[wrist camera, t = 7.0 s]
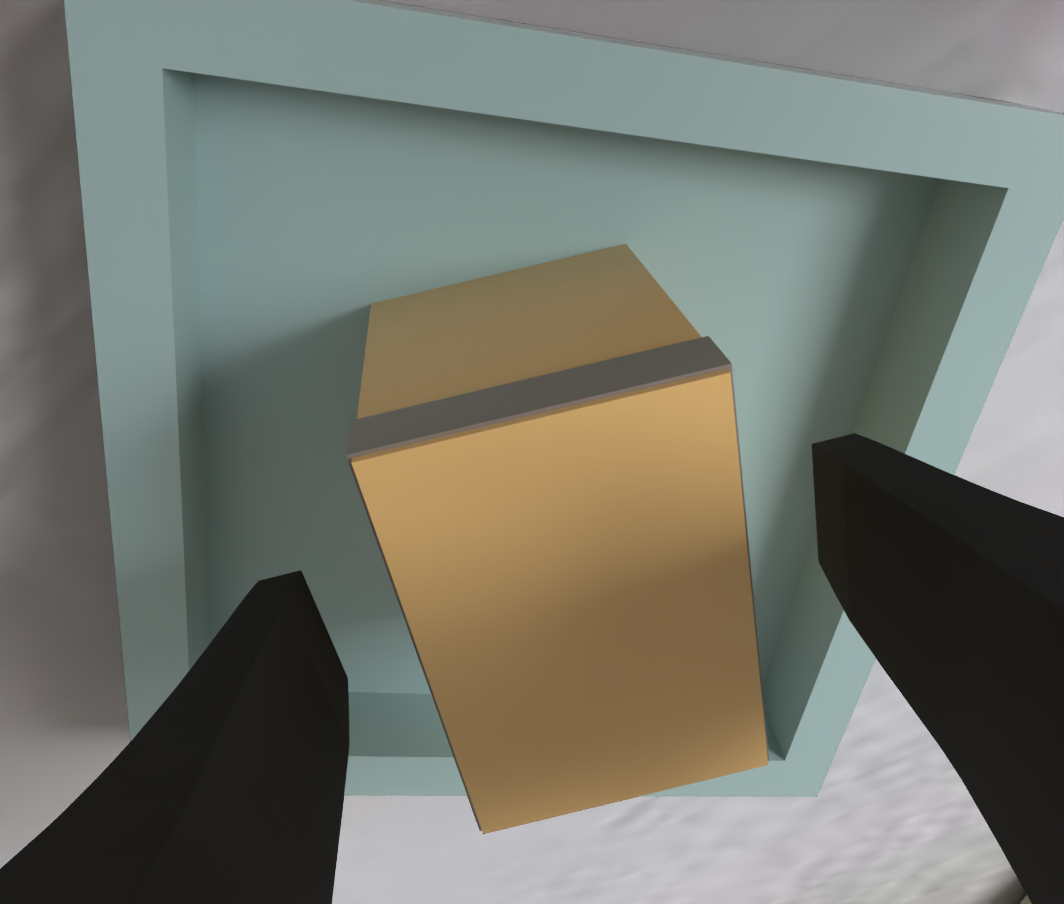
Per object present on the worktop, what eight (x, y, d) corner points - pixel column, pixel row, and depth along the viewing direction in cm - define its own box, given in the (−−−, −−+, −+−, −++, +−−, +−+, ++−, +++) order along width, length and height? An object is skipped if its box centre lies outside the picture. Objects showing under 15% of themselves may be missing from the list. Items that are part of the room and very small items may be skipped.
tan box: (628, 239, 13) (734, 367, 9) (675, 555, 16) (771, 766, 12) (367, 301, 13) (344, 459, 9) (461, 606, 16) (479, 837, 12)
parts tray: (1006, 101, 14) (1104, 122, 12) (777, 716, 20) (817, 796, 18) (119, -42, 11) (60, -46, 9) (165, 703, 17) (135, 794, 15)
